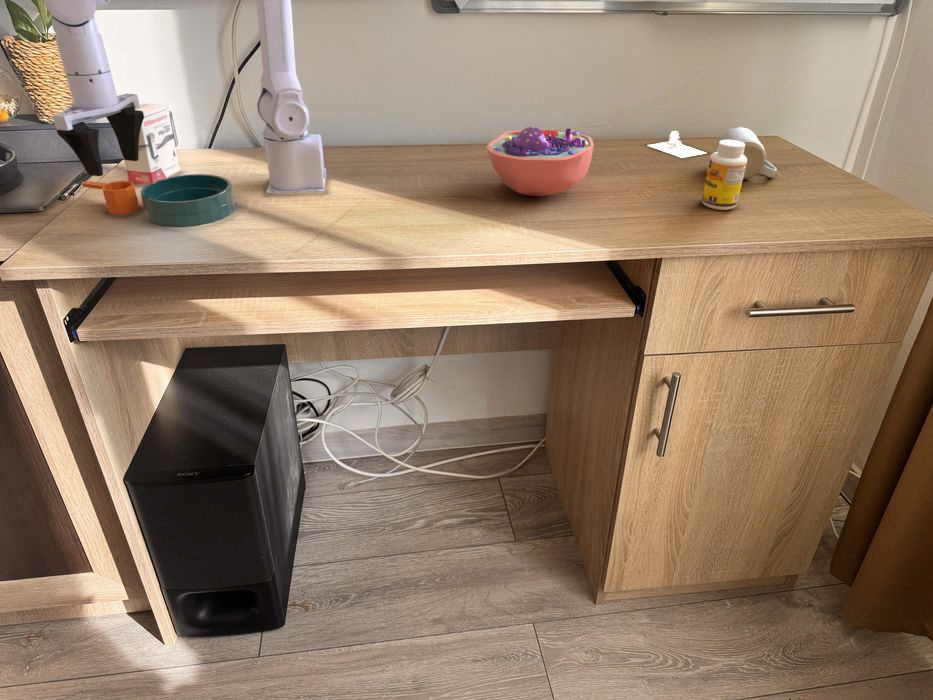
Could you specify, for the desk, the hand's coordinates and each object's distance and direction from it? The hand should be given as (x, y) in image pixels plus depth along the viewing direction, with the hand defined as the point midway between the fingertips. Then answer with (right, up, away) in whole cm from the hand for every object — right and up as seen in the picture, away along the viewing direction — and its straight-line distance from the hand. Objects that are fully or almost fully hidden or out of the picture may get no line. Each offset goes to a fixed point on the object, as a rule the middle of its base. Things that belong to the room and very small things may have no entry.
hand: (114, 167), depth 103 cm
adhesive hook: (+96, +13, +37) cm, 104 cm away
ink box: (-1, +2, +17) cm, 18 cm away
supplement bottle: (+95, -4, +10) cm, 95 cm away
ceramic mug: (+105, +5, +24) cm, 107 cm away
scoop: (-2, -6, +4) cm, 7 cm away
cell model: (+66, 0, +14) cm, 67 cm away
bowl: (+11, -6, +3) cm, 13 cm away
